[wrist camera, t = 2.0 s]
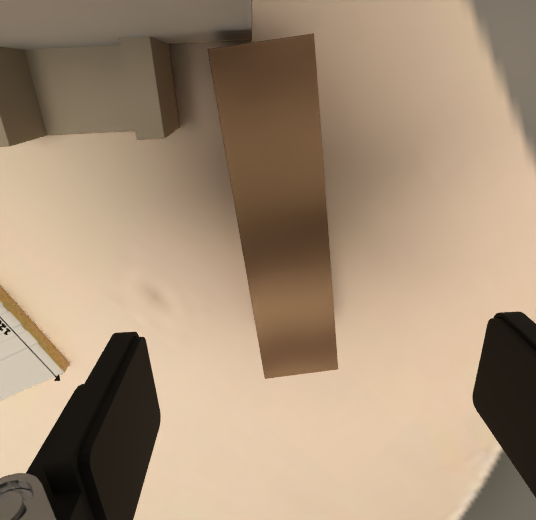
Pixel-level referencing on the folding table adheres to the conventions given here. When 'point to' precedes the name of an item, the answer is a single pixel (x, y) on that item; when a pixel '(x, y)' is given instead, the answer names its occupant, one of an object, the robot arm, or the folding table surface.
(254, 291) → the rail
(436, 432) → the folding table surface
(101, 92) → the panel
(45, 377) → the grey flat board
